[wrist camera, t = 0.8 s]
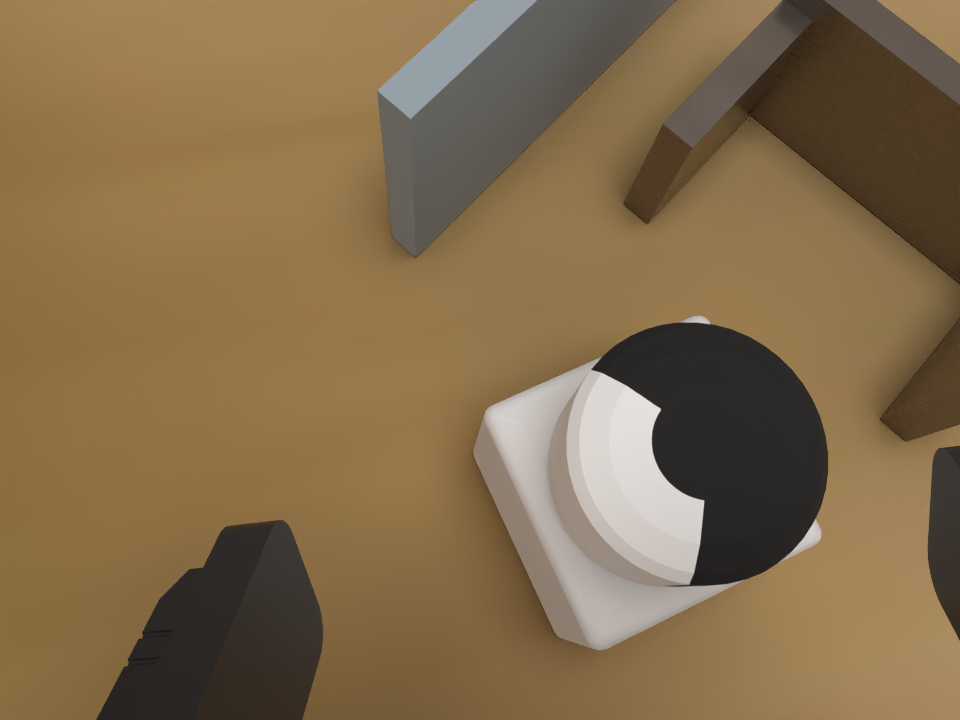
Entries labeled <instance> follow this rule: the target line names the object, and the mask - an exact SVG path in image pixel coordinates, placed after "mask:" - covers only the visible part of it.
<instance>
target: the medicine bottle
mask: <svg viewBox="0 0 960 720" xmlns="http://www.w3.org/2000/svg"><path fill="white" fill-rule="evenodd" d="M473 455H474V458H475V461H476V463H477V465H478V467H479V469H480V471H481V474H482V476H483V478H484V480H485V482H486V484H487V487H488V489H489V491H490V493H491V495H492V498H493V500H494V502H495V504H496V506H497V508H498V511H499V513H500V515H501V517H502V519H503V521H504V524H505V526H506V528H507V530H508V532H509V535H510V537H511V539H512V541H513V543H514V545H515V548H516V550H517V552H518V554H519V556H520V558H521V561H522V563H523V565H524V567H525V569H526V571H527V574H528V576H529V578H530V580H531V582H532V585H533V587H534V589H535V591H536V593H537V595H538V598H539V600H540V602H541V604H542V606H543V608H544V611H545V613H546V615H547V617H548V619H549V622H550V624H551V626H552V628H553V630H554V632H555V634H556V635H557V636H558V637H559V638H562V639H564V640H567V641H570V642H574V643H577V644H580V645H583V646H586V647H589V648H592V649H595V650H598V651H601V650H606V649H608V648H610V647H612V646H614V645H616V644H618V643H620V642H622V641H624V640H626V639H628V638H630V637H632V636H634V635H636V634H638V633H640V632H642V631H644V630H646V629H648V628H650V627H652V626H654V625H656V624H658V623H660V622H662V621H664V620H666V619H668V618H670V617H672V616H674V615H676V614H678V613H680V612H682V611H684V610H686V609H688V608H690V607H692V606H694V605H696V604H698V603H700V602H702V601H704V600H706V599H708V598H710V597H712V596H714V595H716V594H718V593H720V592H722V591H724V590H726V589H728V588H730V587H732V586H734V585H736V584H738V583H740V582H742V581H744V580H746V579H748V578H751V577H753V576H756V575H758V574H760V573H763V572H764V571H766V570H768V569H769V568H771V567H773V566H774V565H776V564H778V563H780V562H782V561H784V560H786V559H788V558H790V557H792V556H794V555H796V554H798V553H800V552H802V551H804V550H806V549H808V548H810V547H812V546H814V545H815V544H816V543H817V542H818V541H819V540H820V538H821V534H822V533H821V529H820V527H819V525H818V523H817V521H816V519H815V518H816V516H817V514H818V512H819V510H820V507H821V504H822V501H823V497H824V493H825V490H826V483H827V476H828V450H827V443H826V436H825V432H824V429H823V425H822V422H821V418H820V416H819V413H818V411H817V409H816V406H815V404H814V402H813V400H812V398H811V396H810V395H809V393H808V391H807V390H806V388H805V386H804V385H803V383H802V382H801V381H800V379H799V378H798V377H797V376H796V374H795V373H794V372H793V371H792V369H791V368H790V367H789V366H788V365H787V364H786V363H785V362H784V361H783V360H781V359H780V358H779V357H778V356H777V355H776V354H774V353H773V352H772V351H770V350H769V349H768V348H767V347H765V346H764V345H762V344H760V343H759V342H757V341H755V340H753V339H752V338H750V337H748V336H746V335H743V334H741V333H739V332H736V331H734V330H731V329H728V328H724V327H720V326H717V325H711V324H710V322H709V321H708V320H707V319H706V318H705V317H703V316H694V317H690V318H688V319H686V320H683V321H681V322H679V323H672V324H665V325H660V326H656V327H653V328H649V329H646V330H643V331H641V332H639V333H637V334H634V335H632V336H630V337H628V338H627V339H625V340H623V341H622V342H620V343H619V344H617V345H615V346H614V347H613V348H612V349H611V350H610V351H608V352H607V353H606V354H605V355H604V356H602V357H600V358H597V359H595V360H593V361H591V362H588V363H586V364H584V365H582V366H579V367H577V368H575V369H573V370H570V371H568V372H566V373H564V374H561V375H559V376H557V377H555V378H552V379H550V380H548V381H545V382H543V383H541V384H539V385H536V386H534V387H532V388H530V389H527V390H525V391H523V392H521V393H518V394H516V395H514V396H512V397H509V398H507V399H505V400H503V401H500V402H498V403H496V404H494V405H491V406H490V407H489V408H488V409H486V412H485V414H484V417H483V421H482V424H481V427H480V430H479V434H478V437H477V440H476V444H475V447H474V450H473Z"/></svg>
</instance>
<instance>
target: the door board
mask: <svg viewBox="0 0 960 720" xmlns="http://www.w3.org/2000/svg"><path fill="white" fill-rule="evenodd" d="M675 1H676V0H475V1H474V2H473V3H472V4H471V5H470V6H469V7H468V8H467V9H466V10H465V11H463V12H462V13H461V14H460V15H459V16H458V17H457V18H456V19H455V20H454V21H453V22H451V23H450V24H449V25H448V26H447V27H446V28H445V29H444V30H443V31H442V32H441V33H439V34H438V35H437V36H436V37H435V38H434V39H433V40H432V41H431V42H430V43H429V44H427V45H426V46H425V47H424V48H423V49H422V50H421V51H420V52H419V53H418V54H417V55H415V56H414V57H413V58H412V59H411V60H410V61H409V62H408V63H407V64H406V65H405V66H403V67H402V68H401V69H400V70H399V71H398V72H397V73H396V74H395V75H394V76H393V77H391V78H390V79H389V80H388V81H387V82H386V83H385V84H384V85H383V86H382V87H381V88H379V89H378V90H377V93H378V103H379V113H380V122H381V132H382V142H383V152H384V161H385V171H386V181H387V191H388V201H389V210H390V220H391V230H392V237H393V238H394V239H395V240H396V241H397V242H398V243H400V244H401V245H402V246H403V247H404V248H405V249H406V250H407V251H409V252H410V253H411V254H412V255H413V256H414V257H415V258H416V257H417V256H418V255H419V254H420V253H421V252H422V251H423V250H424V249H425V248H426V247H427V246H428V245H429V244H431V243H432V242H433V241H434V240H435V239H436V238H437V237H438V236H439V235H440V234H441V233H442V232H443V231H444V230H445V229H446V228H447V227H448V226H449V225H450V224H451V223H452V222H453V221H454V220H455V219H456V218H457V217H458V216H459V215H460V214H461V213H462V212H463V211H464V210H465V209H466V208H467V207H468V206H469V205H470V204H471V203H472V202H473V201H474V200H475V199H476V198H477V197H478V196H479V195H480V194H481V193H482V192H483V191H484V190H485V189H486V188H487V187H488V186H489V185H490V184H491V183H492V182H493V181H494V180H495V179H496V178H497V177H498V176H499V175H500V174H501V173H502V172H503V171H504V170H505V169H506V168H507V167H508V166H509V165H510V164H511V163H512V162H513V161H514V160H515V159H516V158H517V157H518V156H519V155H520V154H521V153H522V152H523V151H524V150H525V149H526V148H527V147H528V146H530V145H531V144H532V143H533V142H534V141H535V140H536V139H537V138H538V137H539V136H540V135H541V134H542V133H543V132H544V131H545V130H546V129H547V128H548V127H549V126H550V125H551V124H552V123H553V122H554V121H555V120H556V119H557V118H558V117H559V116H560V115H561V114H562V113H563V112H564V111H565V110H566V109H567V108H568V107H569V106H570V105H571V104H572V103H573V102H574V101H575V100H576V99H577V98H578V97H579V96H580V95H581V94H582V93H583V92H584V91H585V90H586V89H587V88H588V87H589V86H590V85H591V84H592V83H593V82H594V81H595V80H596V79H597V78H598V77H599V76H600V75H601V74H602V73H603V72H604V71H605V70H606V69H607V68H608V67H609V66H610V65H611V64H612V63H613V62H614V61H615V60H616V59H617V58H618V57H619V56H620V55H621V54H622V53H623V52H624V51H625V50H626V49H627V48H628V47H630V46H631V45H632V44H633V43H634V42H635V41H636V40H637V39H638V38H639V37H640V36H641V35H642V34H643V33H644V32H645V31H646V30H647V29H648V28H649V27H650V26H651V25H652V24H653V23H654V22H655V21H656V20H657V19H658V18H659V17H660V16H661V15H662V14H663V13H664V12H665V11H666V10H667V9H668V8H669V7H670V6H671V5H672V4H673V3H674V2H675Z"/></svg>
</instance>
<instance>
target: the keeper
mask: <svg viewBox="0 0 960 720" xmlns="http://www.w3.org/2000/svg"><path fill="white" fill-rule="evenodd" d="M750 115H751V116H752V117H754V118H755V119H756V120H757V121H758V122H760V123H761V124H762V125H763V126H765V127H766V128H767V129H768V130H770V131H771V132H772V133H773V134H775V135H776V136H777V137H778V138H780V139H781V140H782V141H783V142H785V143H786V144H787V145H788V146H790V147H791V148H792V149H793V150H795V151H796V152H797V153H798V154H800V155H801V156H802V157H803V158H805V159H806V160H807V161H808V162H809V163H811V164H812V165H813V166H814V167H816V168H817V169H818V170H819V171H821V172H822V173H823V174H824V175H826V176H827V177H828V178H829V179H831V180H832V181H833V182H834V183H836V184H837V185H838V186H839V187H841V188H842V189H843V190H844V191H846V192H847V193H848V194H849V195H851V196H852V197H853V198H854V199H856V200H857V201H858V202H859V203H860V204H862V205H863V206H864V207H865V208H867V209H868V210H869V211H870V212H872V213H873V214H874V215H875V216H877V217H878V218H879V219H880V220H882V221H883V222H884V223H885V224H887V225H888V226H889V227H890V228H892V229H893V230H894V231H895V232H897V233H898V234H899V235H900V236H902V237H903V238H904V239H905V240H907V241H908V242H909V243H910V244H911V245H913V246H914V247H915V248H916V249H918V250H919V251H920V252H921V253H923V254H924V255H925V256H926V257H928V258H929V259H930V260H931V261H933V262H934V263H935V264H936V265H938V266H939V267H940V268H941V269H943V270H944V271H945V272H946V273H948V274H949V275H950V276H951V277H953V278H954V279H955V280H956V281H958V282H959V283H960V64H959V63H958V62H956V61H955V60H954V59H952V58H951V57H950V56H949V55H947V54H946V53H945V52H943V51H942V50H941V49H939V48H938V47H937V46H935V45H934V44H933V43H932V42H930V41H929V40H928V39H926V38H925V37H924V36H922V35H921V34H920V33H918V32H917V31H916V30H915V29H913V28H912V27H911V26H909V25H908V24H907V23H905V22H904V21H903V20H901V19H900V18H899V17H898V16H896V15H895V14H894V13H892V12H891V11H890V10H888V9H887V8H886V7H884V6H883V5H882V4H881V3H879V2H878V1H877V0H782V2H781V3H780V4H779V5H778V6H777V7H776V8H775V9H774V10H773V11H772V12H771V13H770V14H769V15H768V16H767V17H766V18H765V19H764V20H763V21H762V22H761V23H760V24H759V25H758V26H757V27H756V28H755V29H754V30H753V32H752V33H751V34H750V35H749V36H748V37H747V38H746V39H745V40H744V41H743V42H742V43H741V44H740V45H739V46H738V47H737V48H736V49H735V50H734V51H733V52H732V53H731V54H730V55H729V56H728V57H727V58H726V59H725V60H724V61H723V63H722V64H721V65H720V66H719V67H718V68H717V69H716V70H715V71H714V72H713V73H712V74H711V75H710V76H709V77H708V78H707V79H706V80H705V81H704V82H703V83H702V84H701V85H700V86H699V87H698V88H697V89H696V90H695V91H694V92H693V94H692V95H691V96H690V97H689V98H688V99H687V100H686V101H685V102H684V103H683V104H682V105H681V106H680V107H679V108H678V109H677V110H676V111H675V112H674V113H673V114H672V115H671V116H670V117H669V118H668V119H667V120H666V121H665V122H664V124H663V125H662V127H661V129H660V131H659V133H658V135H657V137H656V139H655V141H654V143H653V145H652V147H651V149H650V151H649V153H648V155H647V157H646V159H645V162H644V164H643V166H642V168H641V170H640V172H639V174H638V176H637V178H636V180H635V182H634V184H633V186H632V188H631V190H630V192H629V194H628V196H627V198H626V200H625V202H624V205H625V206H627V207H628V208H629V209H630V210H631V211H633V212H634V213H635V214H636V215H637V216H638V217H640V218H641V219H642V220H643V221H644V222H646V223H647V224H648V223H649V222H650V221H651V220H652V219H653V218H654V217H655V216H656V215H657V214H658V213H659V212H660V210H661V209H662V208H663V207H664V206H665V205H666V204H667V203H668V202H669V201H670V200H671V199H672V198H673V197H674V196H675V194H676V193H677V192H678V191H679V190H680V189H681V188H682V187H683V186H684V185H685V184H686V183H687V182H688V181H689V180H690V178H691V177H692V176H693V175H694V174H695V173H696V172H697V171H698V170H699V169H700V168H701V167H702V166H703V165H704V164H705V162H706V161H707V160H708V159H709V158H710V157H711V156H712V155H713V154H714V153H715V152H716V151H717V150H718V149H719V148H720V146H721V145H722V144H723V143H724V142H725V141H726V140H727V139H728V138H729V137H730V136H731V135H732V134H733V133H734V132H735V130H736V129H737V128H738V127H739V126H740V125H741V124H742V123H743V122H744V121H745V120H746V119H747V118H748V117H749V116H750ZM880 420H881V421H882V422H884V423H885V424H886V425H887V426H888V427H889V428H891V429H892V430H893V431H894V432H895V433H897V434H898V435H899V436H900V437H901V438H903V439H904V440H905V441H906V442H907V441H910V440H913V439H916V438H919V437H922V436H925V435H928V434H931V433H934V432H938V431H941V430H944V429H947V428H950V427H953V426H956V425H959V424H960V319H959V320H958V321H957V323H956V324H955V325H954V326H953V328H952V329H951V330H950V332H949V333H948V334H947V335H946V337H945V338H944V339H943V340H942V342H941V343H940V344H939V345H938V347H937V348H936V349H935V350H934V352H933V353H932V354H931V355H930V357H929V358H928V359H927V360H926V362H925V363H924V364H923V365H922V367H921V368H920V369H919V371H918V372H917V373H916V374H915V376H914V377H913V378H912V379H911V381H910V382H909V383H908V384H907V386H906V387H905V388H904V389H903V391H902V392H901V393H900V394H899V396H898V397H897V398H896V399H895V401H894V402H893V403H892V404H891V406H890V407H889V408H888V410H887V411H886V412H885V413H884V415H883V416H882V417H881V418H880Z"/></svg>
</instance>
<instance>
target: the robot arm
mask: <svg viewBox="0 0 960 720" xmlns="http://www.w3.org/2000/svg"><path fill="white" fill-rule="evenodd" d="M928 561H929V568H930V574H931V578H932V582H933V585H934V589H935V592H936V594H937V597H938V599H939V601H940V604H941V606H942V608H943V609H944V611H945V613H946V615H947V617H948V619H949V621H950V623H951V625H952V626H953V628H954V630H955V632H956V634H957V636H958V638H959V640H960V446H955V447H946V448H939V449H938V450H937V451H936V452H935V455H934V458H933V466H932V482H931V499H930V517H929V534H928ZM142 633H143V638H142V639H139V640H138V641H137V643H136V645H135V647H134V649H133V651H132V653H131V655H130V657H129V659H128V661H129V664H128V666H126V667H124V668H123V670H122V672H121V674H120V676H119V678H118V680H117V681H116V683H115V685H114V687H113V689H112V691H111V693H110V695H109V697H108V699H107V701H106V702H105V704H104V706H103V708H102V710H101V712H100V714H99V716H98V718H97V720H302V718H303V715H304V711H305V708H306V704H307V701H308V697H309V694H310V690H311V687H312V683H313V680H314V676H315V673H316V669H317V666H318V662H319V659H320V655H321V650H322V641H323V626H322V617H321V612H320V607H319V604H318V601H317V599H316V596H315V593H314V590H313V588H312V585H311V582H310V580H309V577H308V574H307V571H306V569H305V566H304V563H303V560H302V558H301V555H300V552H299V549H298V547H297V544H296V541H295V539H294V536H293V533H292V531H291V529H290V527H289V525H288V524H287V523H286V522H284V521H282V520H277V521H268V522H259V523H250V524H242V525H233V526H227V527H225V528H224V529H223V530H222V531H221V533H220V534H219V536H218V538H217V540H216V543H215V545H214V547H213V549H212V551H211V553H210V555H209V557H208V559H207V561H206V563H205V565H204V567H203V568H197V569H189V570H188V571H187V572H186V573H185V574H184V575H183V576H182V577H181V578H180V579H179V580H178V581H177V582H176V583H175V584H174V585H173V586H172V587H171V588H170V589H169V590H168V591H167V592H166V593H165V594H164V595H163V596H162V597H161V598H160V600H159V601H158V603H157V605H156V607H155V609H154V611H153V613H152V615H151V617H150V619H149V620H148V622H147V624H146V626H145V628H144V630H143V632H142Z"/></svg>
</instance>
